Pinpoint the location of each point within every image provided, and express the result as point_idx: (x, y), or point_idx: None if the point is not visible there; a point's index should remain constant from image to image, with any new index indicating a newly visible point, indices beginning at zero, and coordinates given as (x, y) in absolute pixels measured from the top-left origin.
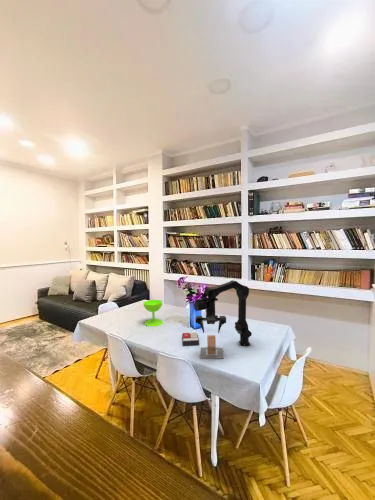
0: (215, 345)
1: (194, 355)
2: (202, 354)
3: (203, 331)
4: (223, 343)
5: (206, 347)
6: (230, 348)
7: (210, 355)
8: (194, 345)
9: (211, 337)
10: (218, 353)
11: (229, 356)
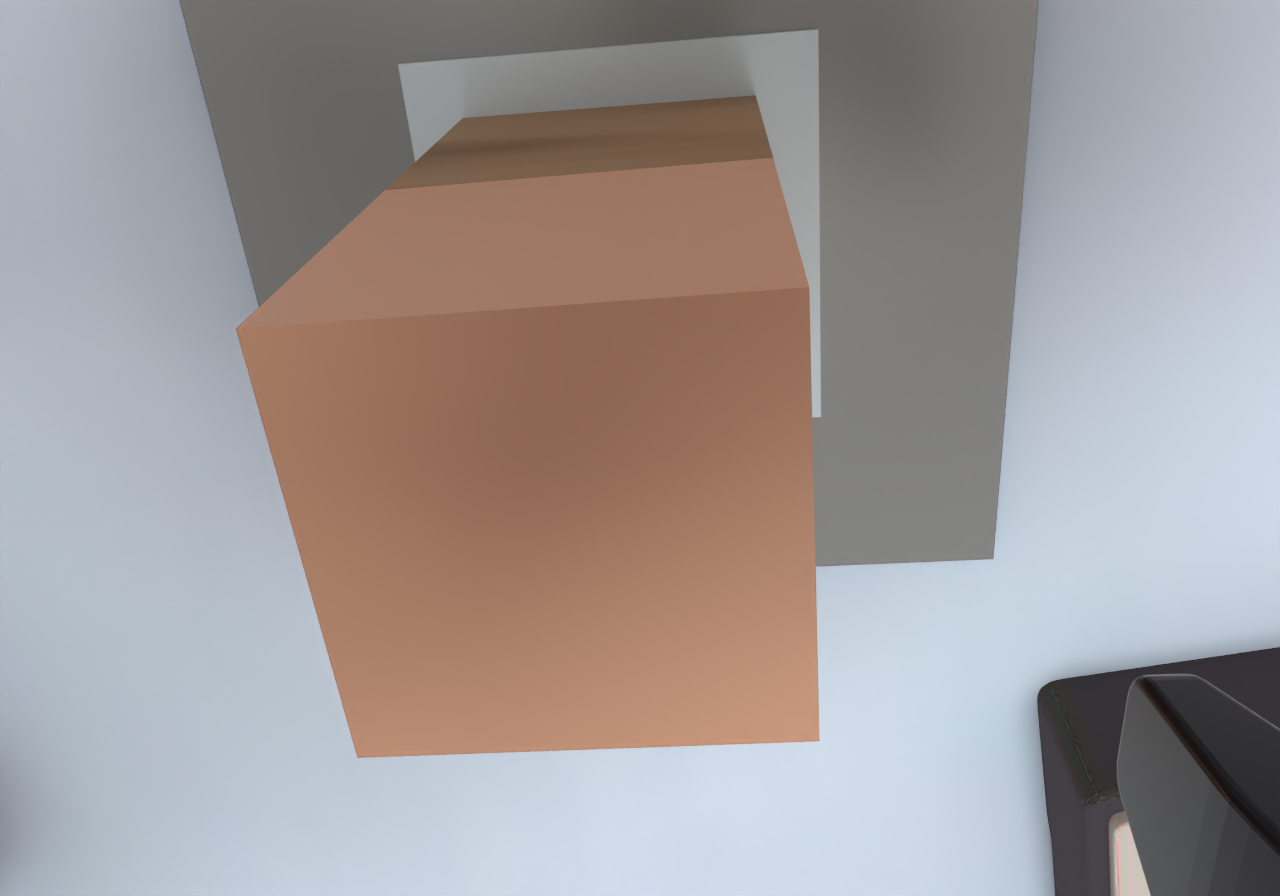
0: (379, 199)
1: (1254, 8)
2: (950, 68)
3: (1258, 759)
4: (359, 810)
5: (815, 560)
6: (112, 577)
7: (648, 25)
8: (1189, 665)
9: (532, 467)
10: None
11: (4, 77)
